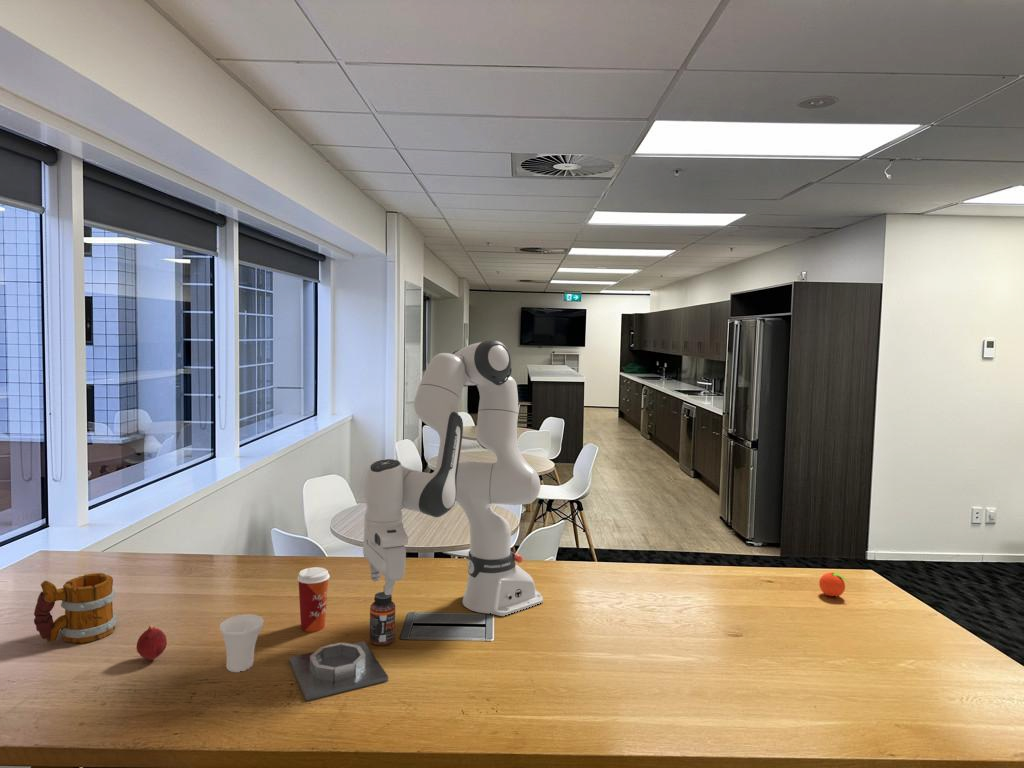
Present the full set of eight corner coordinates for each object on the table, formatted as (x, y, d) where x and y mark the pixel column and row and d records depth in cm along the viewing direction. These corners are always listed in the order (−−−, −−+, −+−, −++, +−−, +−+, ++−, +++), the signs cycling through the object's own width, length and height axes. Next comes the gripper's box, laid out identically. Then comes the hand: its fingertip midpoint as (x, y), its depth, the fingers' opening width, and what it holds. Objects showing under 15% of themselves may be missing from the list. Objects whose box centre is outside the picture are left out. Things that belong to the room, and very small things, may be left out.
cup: (221, 681, 136) (221, 635, 135) (218, 660, 144) (218, 616, 143) (266, 672, 140) (266, 627, 139) (261, 652, 148) (261, 609, 147)
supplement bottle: (388, 648, 152) (389, 601, 151) (365, 644, 153) (365, 598, 152) (398, 636, 158) (399, 591, 157) (375, 633, 159) (376, 588, 158)
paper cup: (319, 635, 157) (320, 579, 156) (290, 631, 158) (291, 576, 157) (334, 621, 164) (335, 568, 163) (306, 617, 166) (307, 564, 165)
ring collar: (364, 645, 153) (364, 631, 153) (388, 680, 138) (388, 665, 138) (289, 661, 145) (289, 646, 144) (306, 701, 130) (306, 684, 130)
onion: (173, 656, 145) (172, 622, 144) (151, 669, 139) (150, 633, 139) (153, 651, 147) (152, 617, 146) (130, 663, 141) (130, 628, 141)
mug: (124, 633, 154) (123, 572, 153) (40, 657, 142) (38, 591, 141) (110, 618, 162) (108, 559, 160) (29, 639, 150) (27, 576, 148)
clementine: (849, 596, 194) (851, 573, 193) (846, 604, 188) (849, 580, 187) (819, 589, 198) (821, 566, 197) (816, 597, 192) (818, 573, 191)
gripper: (357, 519, 161) (355, 574, 162) (384, 543, 143) (382, 604, 144) (382, 517, 164) (380, 570, 165) (411, 539, 146) (409, 600, 147)
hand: (381, 586), depth 154 cm, fingers open, 8 cm apart
